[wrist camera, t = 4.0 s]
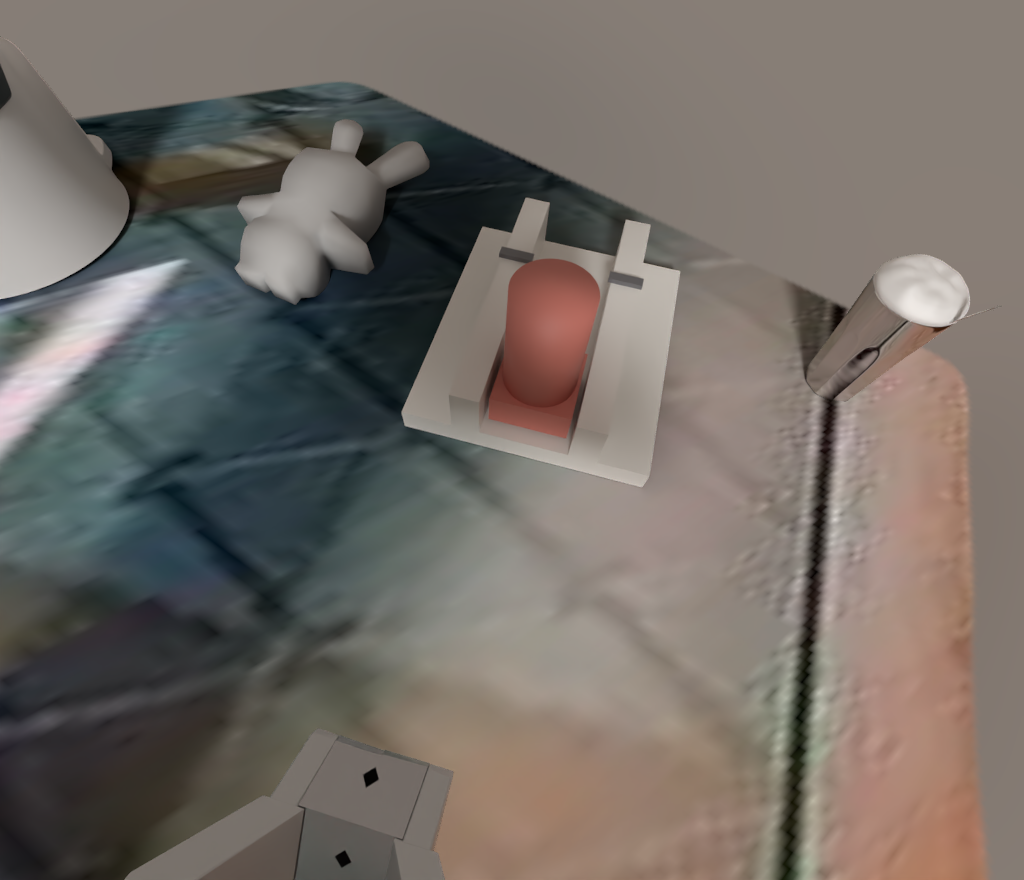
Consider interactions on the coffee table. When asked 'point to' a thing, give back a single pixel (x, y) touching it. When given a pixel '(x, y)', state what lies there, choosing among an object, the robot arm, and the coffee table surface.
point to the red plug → (544, 345)
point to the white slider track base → (611, 353)
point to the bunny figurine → (321, 215)
